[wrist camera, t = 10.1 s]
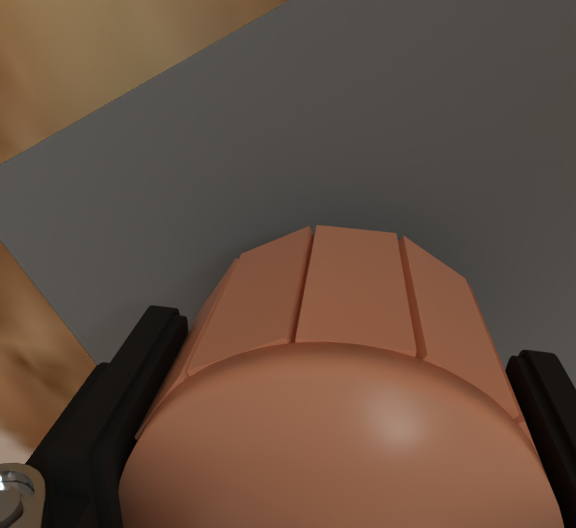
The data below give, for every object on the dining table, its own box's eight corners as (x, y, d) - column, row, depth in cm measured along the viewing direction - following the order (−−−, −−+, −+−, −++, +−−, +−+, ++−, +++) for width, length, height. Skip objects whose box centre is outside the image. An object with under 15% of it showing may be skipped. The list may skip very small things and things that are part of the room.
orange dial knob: (196, 212, 10) (76, 366, 6) (524, 246, 10) (661, 443, 5) (202, 442, 13) (126, 658, 9) (453, 477, 13) (503, 725, 8)
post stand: (525, -127, 10) (809, -351, 4) (655, 394, 15) (867, 669, 9) (9, 164, 14) (-263, 289, 8) (246, 494, 19) (193, 728, 13)
